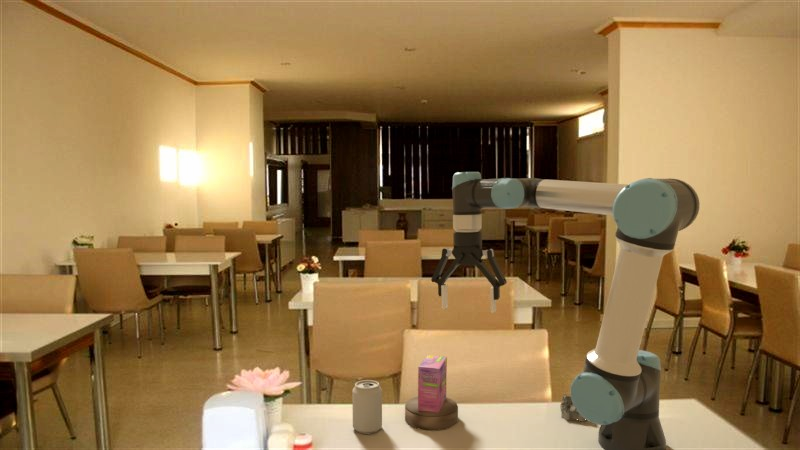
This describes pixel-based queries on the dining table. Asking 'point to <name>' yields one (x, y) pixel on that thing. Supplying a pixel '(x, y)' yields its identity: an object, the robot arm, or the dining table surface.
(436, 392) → the box
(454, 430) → the dining table surface
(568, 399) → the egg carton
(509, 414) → the dining table surface
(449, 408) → the round lidded container
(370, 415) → the can
